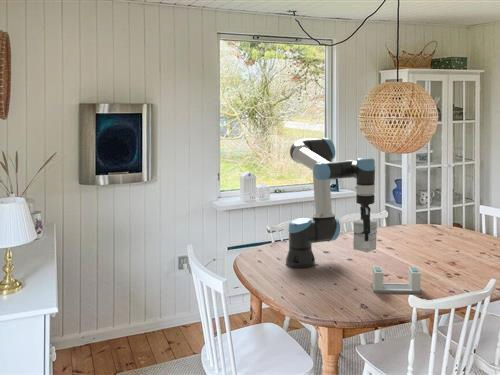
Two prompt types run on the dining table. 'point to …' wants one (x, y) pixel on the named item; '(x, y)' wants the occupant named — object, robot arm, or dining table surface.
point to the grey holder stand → (409, 287)
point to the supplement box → (359, 236)
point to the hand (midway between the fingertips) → (364, 244)
